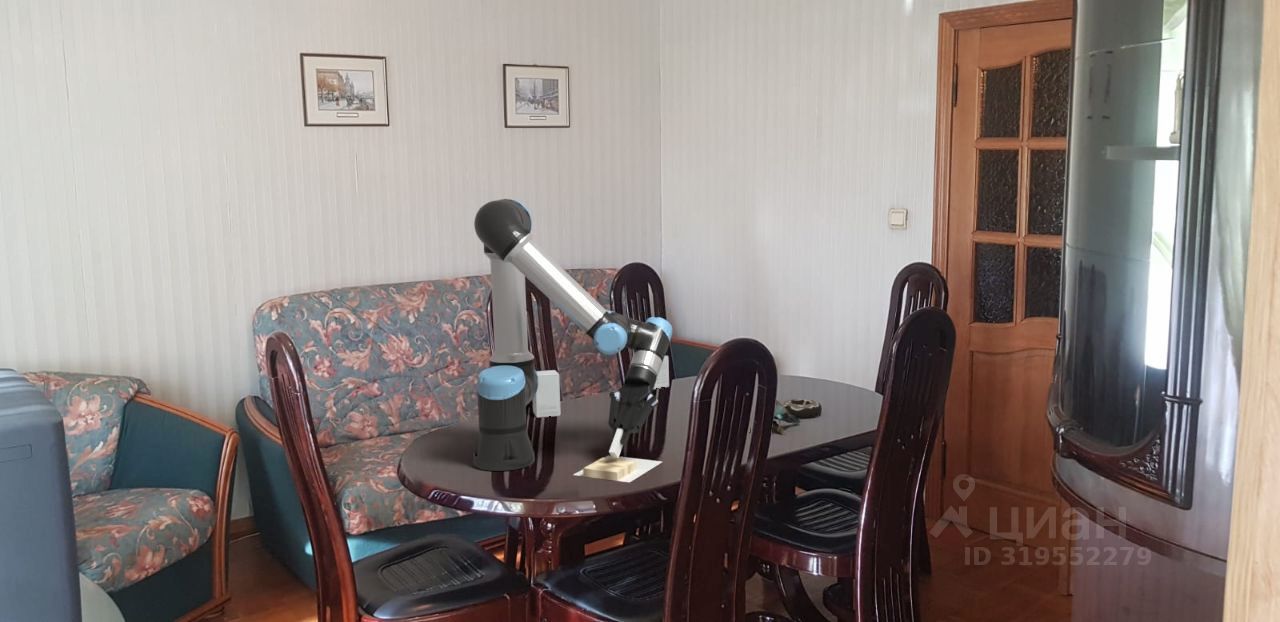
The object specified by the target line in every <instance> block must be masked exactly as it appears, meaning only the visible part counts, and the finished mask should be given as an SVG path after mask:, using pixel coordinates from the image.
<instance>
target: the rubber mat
mask: <svg viewBox="0 0 1280 622" xmlns="http://www.w3.org/2000/svg"><path fill="white" fill-rule="evenodd" d="M605 457H606V458H613V457H612V456H611V454H610V455H606V456H605ZM614 459H623V460H631V461H637V470H635V471H633V472H632V473H630V474H628V475H627V476H625V477H623V478H622V479H620V480H618V481H617V482H623V483H631V482H633V481H634V480H636V479H638V478H639V477H641V476H642V475H644V474H647V473H648V471H650V470H652V469H653V468H655V467H657V466H658V465H660V464H662V463H663V461H660V460H651V459H644V458H643V459H642V458H634V457H626V456H619V458H614ZM572 476H576V477H578V476H579V477H583V469H581V470H579V471H577V472H575V473H574V474H572Z"/></svg>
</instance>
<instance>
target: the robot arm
mask: <svg viewBox="0 0 1280 622" xmlns="http://www.w3.org/2000/svg"><path fill="white" fill-rule="evenodd" d="M532 220H533V219H532V216H531V213H530V211H529V210H528V208H527V207H526V206H525V205H524V204H522V203H521V202H519V201H518V200H515V199H511V198H502V199H501V198H500V199H497V200H496V199H495V200H492V201H491V200H490V201H489V202H486V203H484V205H482V206H481V207H480V208H479V210H478V211H476V215H475V218H474V222H473V223H474V224H473V225H474V231H475V233H476V237H477V238H478V239H479V241H481V243H482V244H483V255H485V256H486V257H487V258H488V259H489V261H490V278H491V279H490V281H491V299H492V300H491V301H492V302H491V303H492V319H493V341H494V353H493V354H492V355H491V356H489V358H488V359H489V361H488V363H489V368H484V369H483V370H482V371H480V372H479V374H478V375H477V378H476V379H477V380H476V393H477V410H478V413H477V414H478V429H479V430H478V432H479V434H478V437H477V441H476V444H475V447H474V450H473V451H474V452H473V454H472V455H473V456H472V460H473V461H472V463H473V466H474V467H475V468H477V469H480V470H482V471H483V470H484V471H492V472H494V471H495V472H504V471H514V470H520V469H523V468H527V467H529V466H532V465H533V464H534V463H535V459H536V458H535V451H534V448H533V445H532V442H531V440H530V437H529V435H528V431H527V409H526V407H527V405H528V404H529V403H530V402H532V401H533V398H534V396H535V395H536V392H537V390H538V384H539V381H538V375H537V372H536V371H537V370H536V367H535V356H534V354H532V352H530V350H529V341H528V339H529V338H528V319H527V315H528V314H527V299H526V298H527V296H526V295H527V294H526V278H527V280H528V281H530V282H531V283H532V284H533V285H534V286H535V287H536V288H537V289H538V290H539V291H540V292H541V293H543V295H544V296H546V298H548V300H550V301H551V302H552V303H553V304H554V305H555V306H556V307H557V308H559V309H560V310H561V311H562V312H563V313H564V314H565V315H566V316H567V317H568V318H569V319H570V320H571V321H572V322H573V323H574V324H576V326H578V327H579V329H581V331H583V332H584V333H585V334H586V335H587V337H589V338H590V339H591V340H592V341H593V342H594V345H595V347H596V349H597V350H598V351H599V352H600V353H602V354H603V355H607V356H608V355H609V356H611V355H615V354H618V353H619V352H620V351H622V350H623V349H624V348H626V349H630V350H632V351H634V353H633V356H632V358H631V362H630V363H629V366H628V369H627V372H626V375H625V377H624V380H623V385H622V386H621V387H620V389H619V391H616V392H613V391H611V392H609V399H610V406H609V416H608V423H607V424H608V426H609V427H610V429H611V431H612V434H611V437H610V443H611V444H610V447H609V450H608V453H609V454H610V455H611V456H612V457H613V458H619V457H620V454H621V452H622V449H623V446H626V445H627V444H628V441H629V438H630V435H631V434H633V433H635V434H638V433H639V432H640V430H641V429H642V428H643V425H644V424H645V423H646V421H647V419H648V418H649V416H650V414H651V412H652V411H653V410H654V408H656V407H657V406H658V405H659V403H660V402H659V400H658V398H657V396H656V395H653V391H654V390H655V389H654V386H655V383H656V380H657V376H658V374H659V371H660V368H661V365H662V362H663V359H664V357H665V356H666V354H667V352H668V348H669V346H670V342H671V338H672V335H673V326H672V325H671V323H670V322H669V321H668V320H666V319H664V318H662V317H659V316H658V317H655V316H651V317H649V318H647V319H646V321H645V322H644V321H640V320H636V319H633V318H631V317H628V316H627V315H623V314H620V313H618V312H616V311H613V310H608V309H605V307H604V306H603V305H601V304H600V303H599V302H598V300H597V299H595V298H594V297H593V296H592V295H591V294H590V293H589V292H588V291H586V290H585V289H584V288H583V286H581V285H580V284H579V283H578V282H577V281H576V280H575V279H574V278H573V277H572V276H571V275H570V274H569V273H568V272H566V271H565V269H563V268H562V266H560V264H559V263H557V262H556V261H555V260H554V259H553V258H552V257H551V255H549V254H548V253H547V252H546V251H544V250H543V249H542V248H541V247H540V246H539V245H538V244H537V243H536V242H535V241H534V240H533V236H532V235H533V233H532V227H533V224H532V223H533V221H532ZM621 400H622V401H621ZM620 401H621V406H620V405H619V404H620V403H619V402H620ZM619 406H620V410H619Z"/></svg>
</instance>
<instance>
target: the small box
mask: <svg viewBox="0 0 1280 622" xmlns="http://www.w3.org/2000/svg"><path fill="white" fill-rule="evenodd" d="M669 363H670V362H669V355H665V357H664V359H663V362H662V365H661V368H660V371H659V374H658V376H657V380H656V383H655V386H654V389H653V390H657V389H656V388H659V389H662V388H661V387H665V388H669V387H670V375H669V374H670V371H669V369H670V367H669V365H670V364H669Z"/></svg>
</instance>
